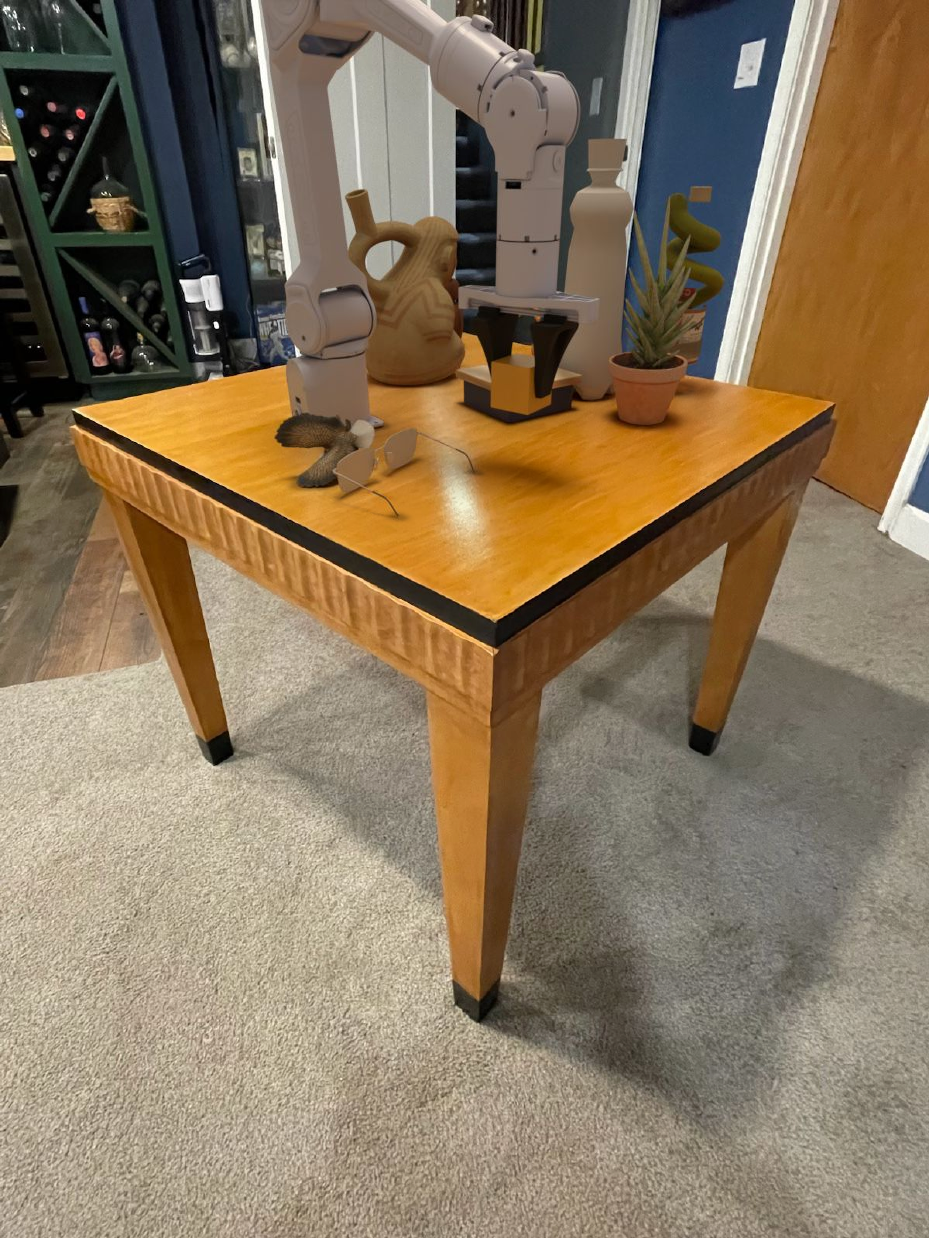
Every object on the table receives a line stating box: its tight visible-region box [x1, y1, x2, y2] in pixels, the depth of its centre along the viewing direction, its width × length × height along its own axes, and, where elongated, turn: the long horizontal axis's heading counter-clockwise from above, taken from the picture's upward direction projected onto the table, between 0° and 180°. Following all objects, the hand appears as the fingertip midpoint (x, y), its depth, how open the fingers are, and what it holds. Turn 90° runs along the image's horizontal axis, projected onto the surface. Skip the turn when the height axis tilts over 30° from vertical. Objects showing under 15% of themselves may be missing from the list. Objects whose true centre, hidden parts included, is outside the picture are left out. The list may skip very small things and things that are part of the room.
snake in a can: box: [665, 186, 725, 366], centre depth 94 cm, size 12×10×25 cm
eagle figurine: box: [273, 413, 376, 488], centre depth 73 cm, size 8×7×9 cm
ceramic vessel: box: [344, 188, 466, 386], centre depth 101 cm, size 17×20×25 cm
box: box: [455, 363, 582, 424], centre depth 92 cm, size 12×12×4 cm
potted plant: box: [609, 195, 696, 426], centre depth 82 cm, size 10×10×25 cm
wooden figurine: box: [444, 277, 464, 339], centre depth 120 cm, size 7×6×15 cm
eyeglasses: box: [333, 427, 476, 517], centre depth 70 cm, size 14×8×4 cm, turn 146°
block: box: [491, 352, 552, 415], centre depth 69 cm, size 4×4×4 cm
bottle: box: [558, 138, 635, 401], centre depth 91 cm, size 9×9×30 cm
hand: (521, 392), depth 70 cm, fingers closed on block, 4 cm apart
